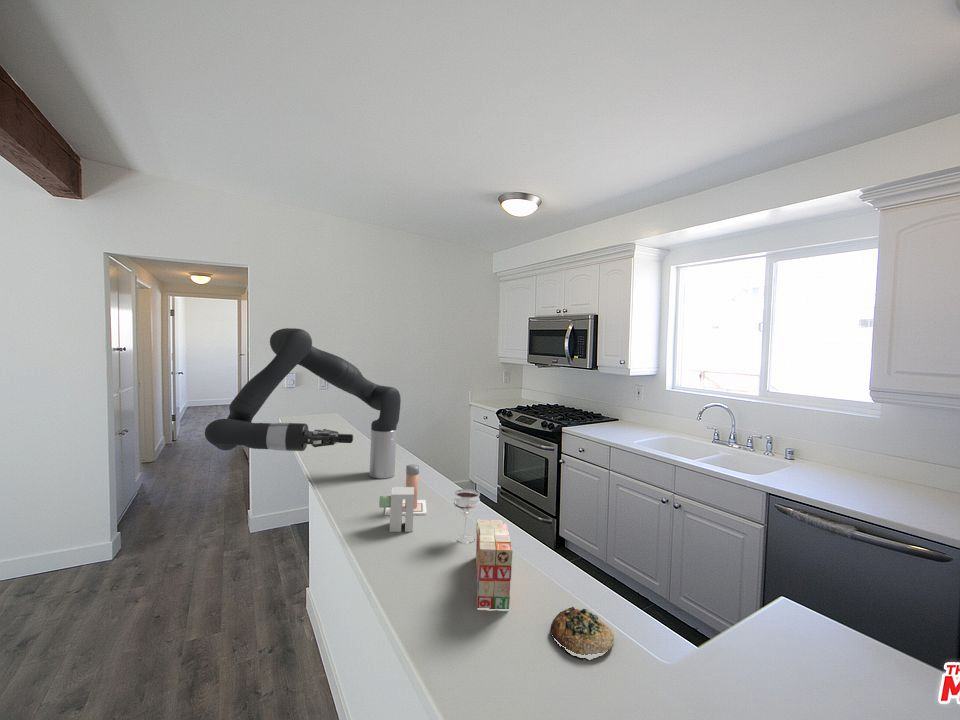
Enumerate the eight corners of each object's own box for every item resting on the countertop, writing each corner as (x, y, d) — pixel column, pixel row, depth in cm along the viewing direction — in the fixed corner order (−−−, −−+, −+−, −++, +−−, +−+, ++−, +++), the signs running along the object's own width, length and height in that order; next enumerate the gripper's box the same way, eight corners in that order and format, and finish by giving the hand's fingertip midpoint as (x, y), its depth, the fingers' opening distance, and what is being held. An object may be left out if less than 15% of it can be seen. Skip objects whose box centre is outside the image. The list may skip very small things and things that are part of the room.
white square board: (387, 501, 139) (387, 499, 139) (425, 501, 140) (425, 499, 140) (384, 515, 128) (384, 513, 128) (426, 514, 130) (426, 512, 130)
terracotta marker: (404, 504, 135) (406, 464, 134) (417, 504, 135) (419, 464, 135) (404, 509, 131) (406, 468, 131) (417, 509, 132) (419, 468, 131)
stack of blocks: (475, 557, 105) (477, 506, 105) (501, 558, 106) (503, 507, 105) (476, 611, 84) (479, 548, 84) (509, 612, 84) (512, 549, 84)
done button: (380, 505, 121) (380, 494, 120) (394, 505, 121) (395, 494, 121) (379, 509, 118) (379, 498, 117) (394, 509, 118) (394, 498, 118)
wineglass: (475, 546, 111) (477, 499, 110) (448, 542, 112) (451, 496, 112) (480, 535, 117) (482, 490, 117) (455, 532, 119) (457, 487, 118)
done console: (390, 522, 123) (392, 487, 122) (412, 522, 124) (414, 487, 123) (389, 532, 117) (391, 494, 116) (412, 531, 118) (414, 494, 117)
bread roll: (546, 616, 83) (551, 591, 83) (604, 628, 83) (610, 603, 83) (552, 660, 72) (558, 631, 72) (620, 675, 72) (626, 646, 71)
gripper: (281, 427, 115) (349, 429, 118) (295, 419, 128) (356, 421, 131) (279, 456, 115) (348, 457, 118) (293, 444, 128) (355, 446, 131)
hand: (352, 438), depth 124 cm, fingers closed
